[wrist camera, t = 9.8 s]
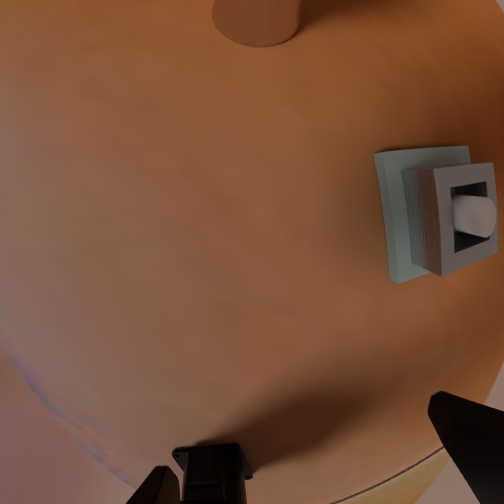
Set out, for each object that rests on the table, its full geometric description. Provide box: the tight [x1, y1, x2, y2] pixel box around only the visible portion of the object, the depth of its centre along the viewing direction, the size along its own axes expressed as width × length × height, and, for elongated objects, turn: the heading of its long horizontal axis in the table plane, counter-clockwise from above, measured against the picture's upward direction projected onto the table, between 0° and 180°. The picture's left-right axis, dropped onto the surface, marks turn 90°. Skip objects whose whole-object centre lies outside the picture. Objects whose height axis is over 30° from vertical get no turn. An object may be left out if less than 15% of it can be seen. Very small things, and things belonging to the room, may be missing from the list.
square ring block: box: [401, 162, 498, 277], centre depth 16 cm, size 6×6×4 cm
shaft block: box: [373, 146, 496, 284], centre depth 16 cm, size 9×9×6 cm
